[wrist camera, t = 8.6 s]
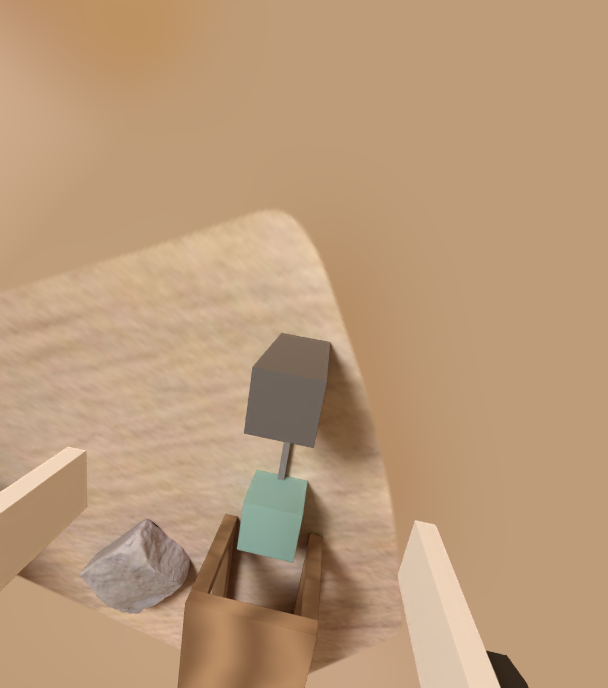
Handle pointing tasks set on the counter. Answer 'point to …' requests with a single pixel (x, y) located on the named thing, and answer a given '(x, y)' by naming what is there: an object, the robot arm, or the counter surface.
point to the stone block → (137, 569)
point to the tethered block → (283, 425)
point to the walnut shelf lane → (247, 626)
